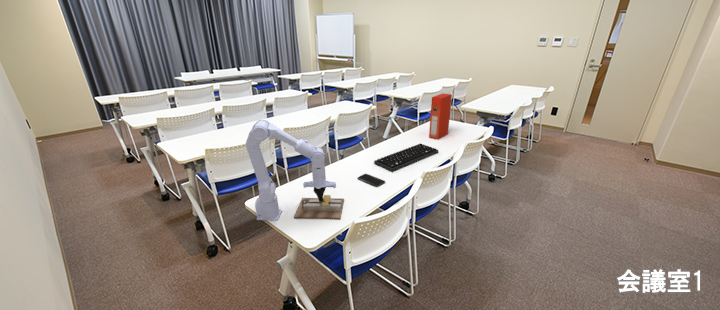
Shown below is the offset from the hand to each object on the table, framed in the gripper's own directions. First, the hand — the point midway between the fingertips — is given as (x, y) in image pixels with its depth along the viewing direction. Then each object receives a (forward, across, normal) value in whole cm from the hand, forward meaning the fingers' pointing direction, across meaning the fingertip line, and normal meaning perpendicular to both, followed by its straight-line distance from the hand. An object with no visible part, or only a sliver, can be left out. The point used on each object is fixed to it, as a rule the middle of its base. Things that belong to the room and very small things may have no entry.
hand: (321, 200), depth 133 cm
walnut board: (+5, -1, +1) cm, 5 cm away
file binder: (+6, +75, +107) cm, 131 cm away
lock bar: (+1, +3, 0) cm, 3 cm away
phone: (+6, +23, +30) cm, 38 cm away
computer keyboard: (+6, +46, +62) cm, 77 cm away
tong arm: (+4, +2, +1) cm, 5 cm away
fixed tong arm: (+4, 0, 0) cm, 4 cm away
